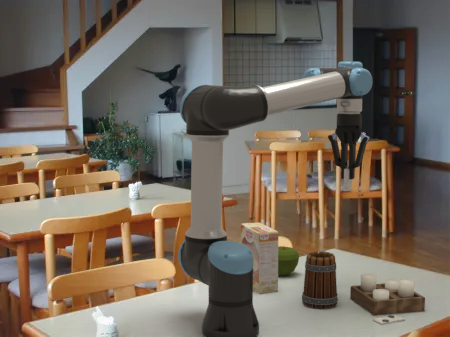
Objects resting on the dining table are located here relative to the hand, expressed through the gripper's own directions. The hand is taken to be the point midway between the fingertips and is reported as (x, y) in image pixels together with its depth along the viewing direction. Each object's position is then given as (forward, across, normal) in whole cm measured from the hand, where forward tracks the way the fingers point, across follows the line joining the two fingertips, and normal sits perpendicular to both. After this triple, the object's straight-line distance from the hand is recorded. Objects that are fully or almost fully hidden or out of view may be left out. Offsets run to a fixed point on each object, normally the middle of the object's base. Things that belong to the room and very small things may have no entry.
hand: (347, 189), depth 227 cm
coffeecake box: (+33, -26, -9) cm, 43 cm away
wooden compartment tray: (+33, +15, -6) cm, 36 cm away
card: (+33, +20, -19) cm, 43 cm away
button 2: (+32, +15, -11) cm, 37 cm away
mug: (+33, -3, -13) cm, 35 cm away
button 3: (+32, +15, 0) cm, 35 cm away
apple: (+33, -25, +8) cm, 42 cm away
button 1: (+30, +10, -6) cm, 32 cm away
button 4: (+30, +21, -6) cm, 37 cm away
